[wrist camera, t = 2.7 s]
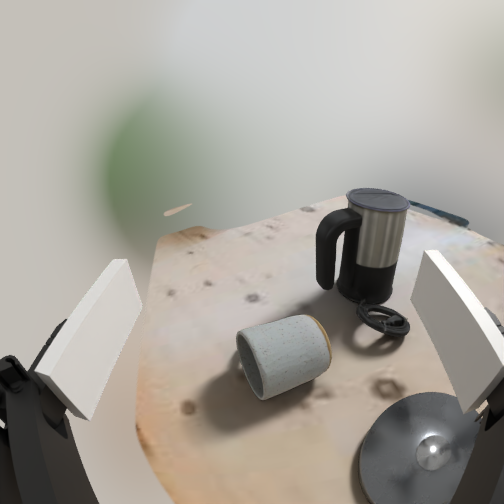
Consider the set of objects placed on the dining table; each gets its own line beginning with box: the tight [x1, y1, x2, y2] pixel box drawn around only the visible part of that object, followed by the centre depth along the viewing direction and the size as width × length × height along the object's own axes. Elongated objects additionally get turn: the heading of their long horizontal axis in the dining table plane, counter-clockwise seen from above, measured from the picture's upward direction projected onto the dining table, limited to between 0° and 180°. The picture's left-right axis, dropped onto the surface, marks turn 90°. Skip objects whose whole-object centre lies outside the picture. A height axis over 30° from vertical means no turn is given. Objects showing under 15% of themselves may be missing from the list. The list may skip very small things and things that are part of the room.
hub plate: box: [358, 392, 482, 504], centre depth 17 cm, size 15×15×1 cm
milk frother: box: [316, 188, 410, 337], centre depth 35 cm, size 14×16×15 cm
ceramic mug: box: [236, 315, 332, 400], centre depth 29 cm, size 11×8×8 cm
